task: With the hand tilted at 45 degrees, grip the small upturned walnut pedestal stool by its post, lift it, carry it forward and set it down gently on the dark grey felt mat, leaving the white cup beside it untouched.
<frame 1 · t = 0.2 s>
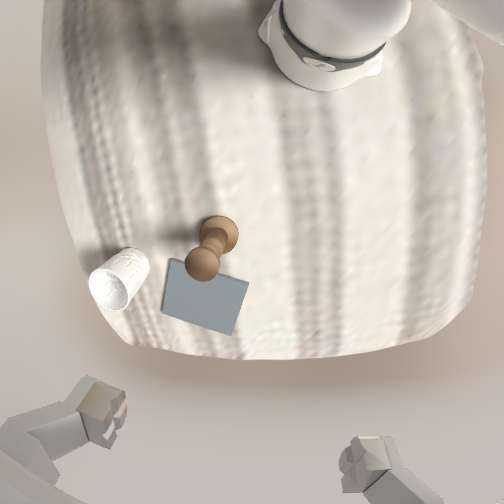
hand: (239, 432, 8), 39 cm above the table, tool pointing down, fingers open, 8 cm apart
stool: (219, 233, 47), on the table
felt mat: (203, 298, 53), on the table
white cup: (134, 263, 51), on the table
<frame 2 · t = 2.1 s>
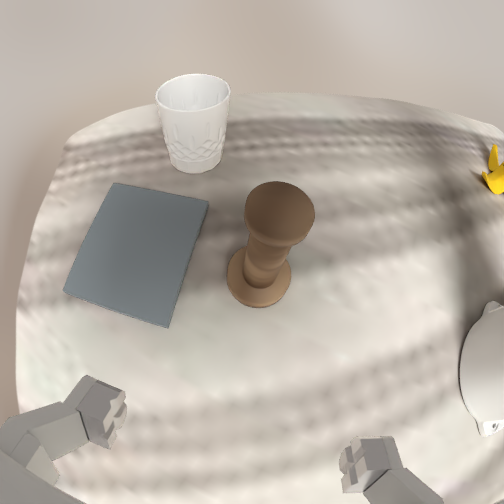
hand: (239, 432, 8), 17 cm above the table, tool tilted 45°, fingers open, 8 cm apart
stool: (257, 278, 29), on the table
felt mat: (135, 248, 29), on the table
white cup: (196, 156, 35), on the table
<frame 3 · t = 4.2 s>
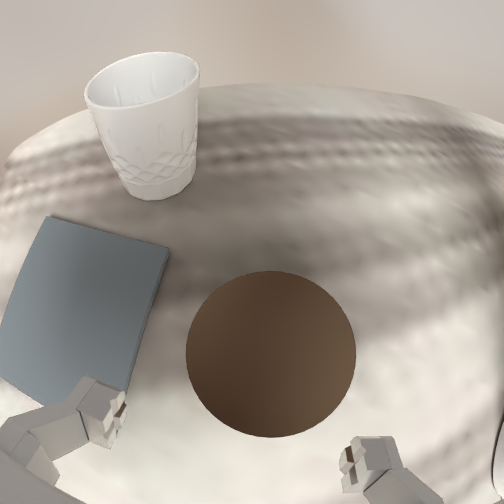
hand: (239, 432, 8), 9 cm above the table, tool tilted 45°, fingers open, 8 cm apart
stool: (242, 372, 18), on the table
felt mat: (69, 317, 18), on the table
white cup: (158, 172, 24), on the table
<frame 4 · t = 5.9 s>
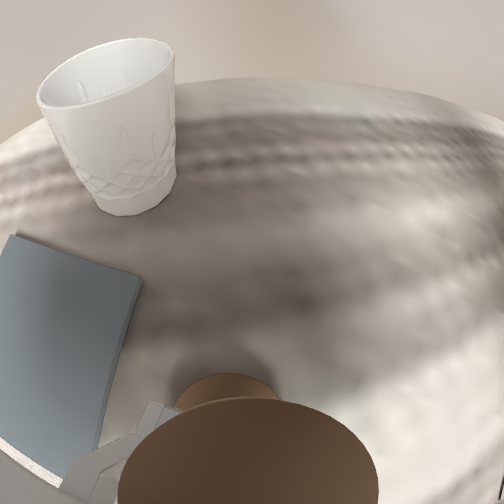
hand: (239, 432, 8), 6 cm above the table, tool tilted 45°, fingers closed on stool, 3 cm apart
stool: (228, 425, 14), on the table, touching gripper
felt mat: (34, 353, 14), on the table
white cup: (133, 182, 20), on the table
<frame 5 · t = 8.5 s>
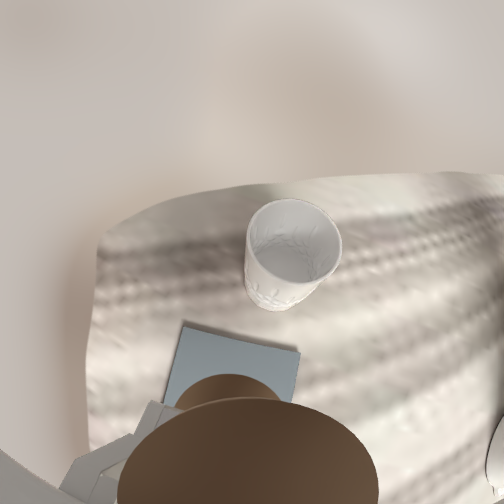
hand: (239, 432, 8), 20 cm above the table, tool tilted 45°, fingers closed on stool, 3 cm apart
stool: (229, 425, 14), point 13 cm above the table, touching gripper
felt mat: (226, 407, 26), on the table
white cup: (274, 283, 32), on the table
when the fingers open (8 cm above the table, at t = 11.4 s): stool stays where it is, resting on felt mat.
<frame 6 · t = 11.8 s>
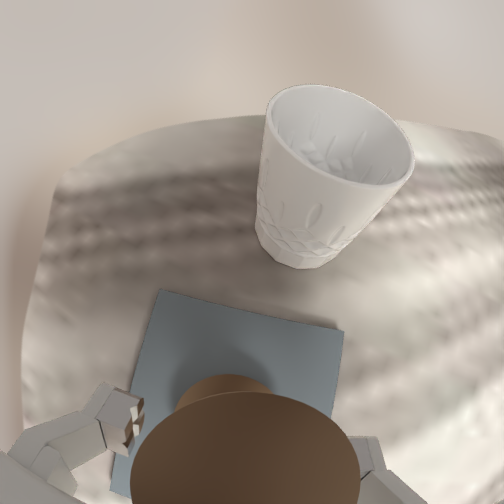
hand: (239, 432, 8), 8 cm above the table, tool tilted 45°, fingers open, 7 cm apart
stool: (228, 424, 14), point 1 cm above the table, touching felt mat
felt mat: (227, 422, 15), on the table
white cup: (298, 230, 22), on the table
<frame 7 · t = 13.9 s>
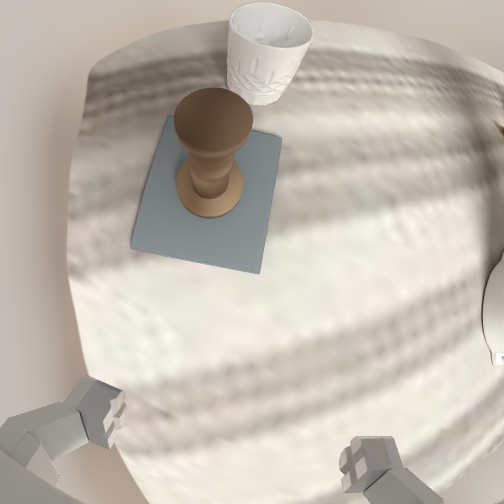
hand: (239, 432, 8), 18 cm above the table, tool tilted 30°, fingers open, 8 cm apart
stool: (209, 187, 27), point 1 cm above the table, touching felt mat
felt mat: (209, 189, 27), on the table
white cup: (255, 85, 30), on the table
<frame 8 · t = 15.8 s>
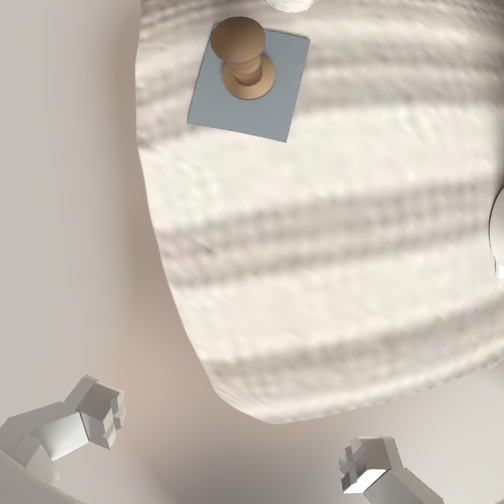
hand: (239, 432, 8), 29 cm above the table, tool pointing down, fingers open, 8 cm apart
stool: (249, 77, 30), point 1 cm above the table, touching felt mat
felt mat: (249, 78, 31), on the table
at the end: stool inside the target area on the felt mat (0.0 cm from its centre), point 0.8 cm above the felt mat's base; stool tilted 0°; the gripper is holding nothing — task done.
